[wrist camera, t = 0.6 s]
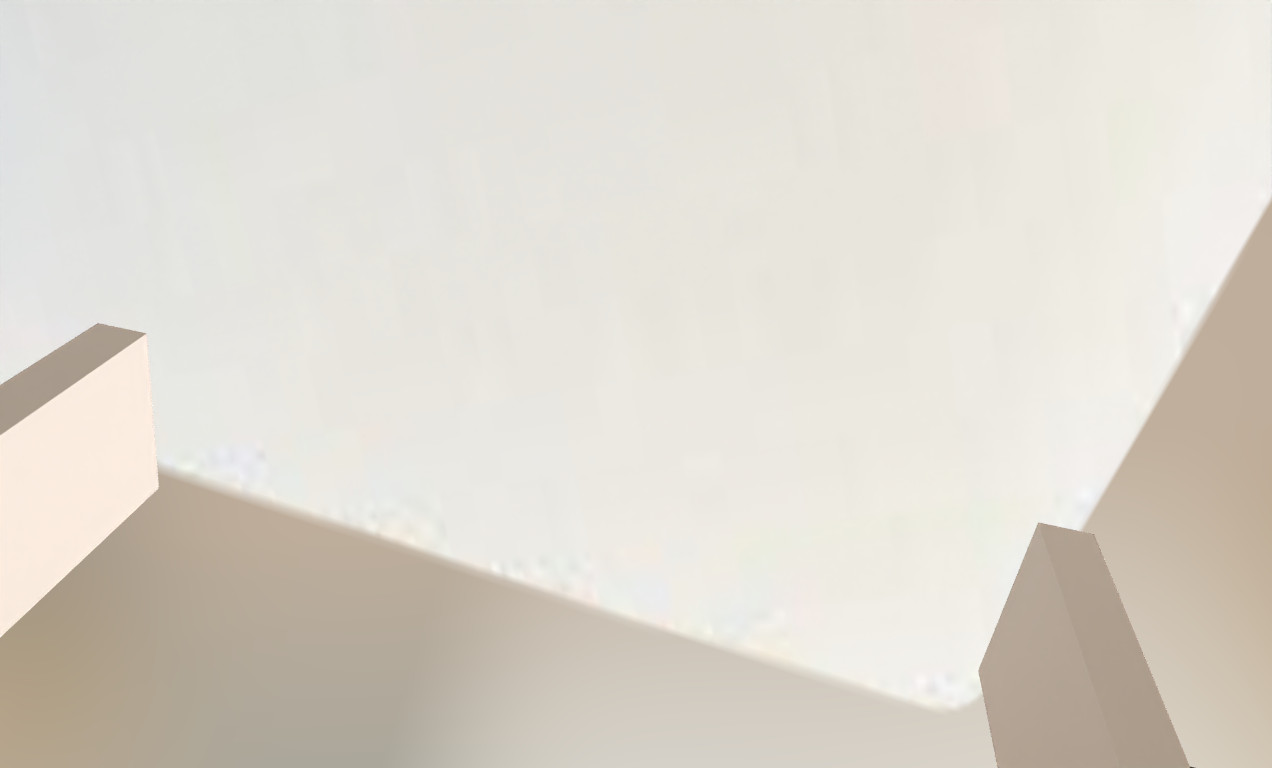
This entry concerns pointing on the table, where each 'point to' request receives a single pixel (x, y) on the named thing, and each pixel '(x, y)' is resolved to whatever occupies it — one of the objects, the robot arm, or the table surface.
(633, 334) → the table surface
